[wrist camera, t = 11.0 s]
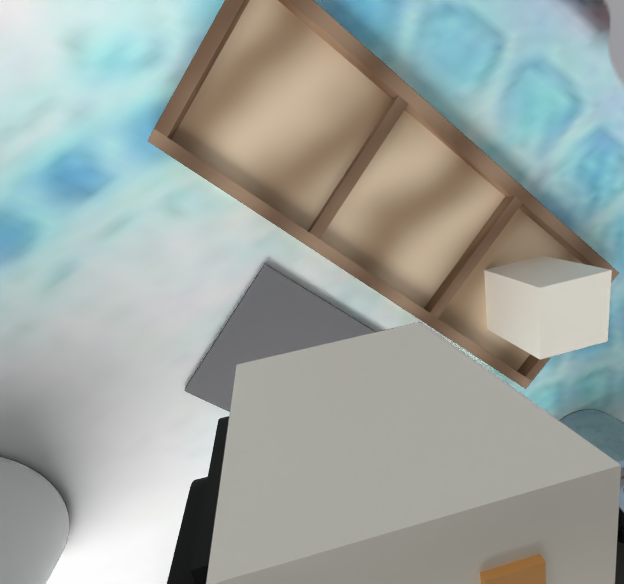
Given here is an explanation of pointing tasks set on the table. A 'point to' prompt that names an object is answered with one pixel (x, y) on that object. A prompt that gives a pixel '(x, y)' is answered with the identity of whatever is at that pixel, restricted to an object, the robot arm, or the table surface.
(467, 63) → the table surface
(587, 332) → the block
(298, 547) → the letter block
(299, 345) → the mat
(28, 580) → the cylinder vase
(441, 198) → the tray board
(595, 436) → the grey green pot
